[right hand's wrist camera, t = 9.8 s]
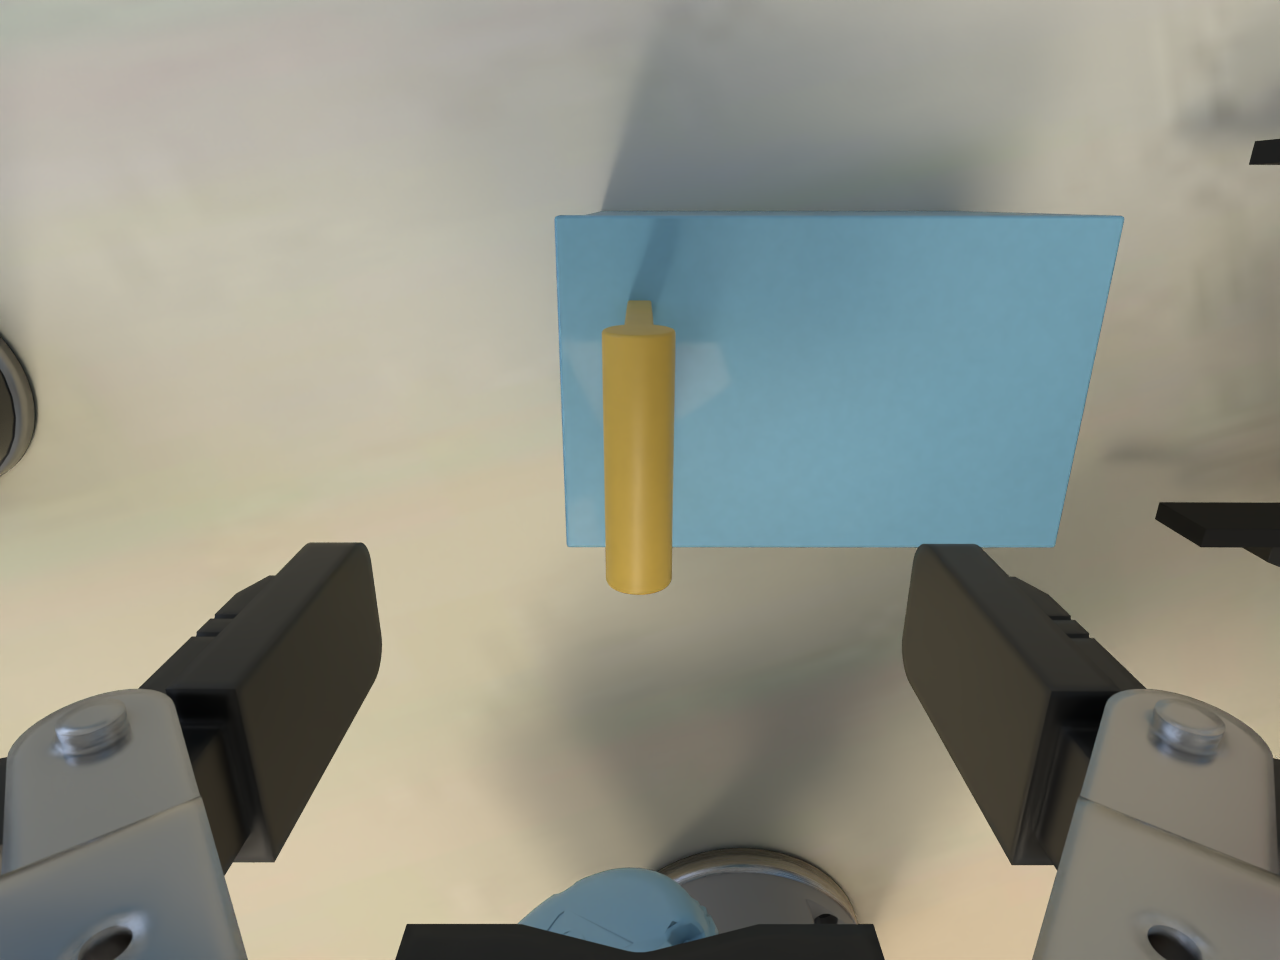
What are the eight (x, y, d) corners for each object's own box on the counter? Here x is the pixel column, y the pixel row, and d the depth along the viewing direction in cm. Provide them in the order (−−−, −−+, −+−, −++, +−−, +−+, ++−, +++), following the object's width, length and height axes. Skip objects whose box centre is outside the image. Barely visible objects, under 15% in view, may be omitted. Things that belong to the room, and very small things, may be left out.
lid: (569, 534, 26) (538, 675, 18) (558, 215, 22) (513, 222, 14) (1039, 535, 26) (1208, 676, 18) (1105, 215, 22) (1350, 222, 14)
